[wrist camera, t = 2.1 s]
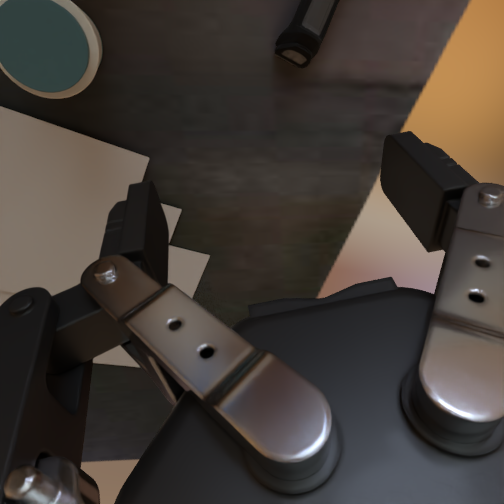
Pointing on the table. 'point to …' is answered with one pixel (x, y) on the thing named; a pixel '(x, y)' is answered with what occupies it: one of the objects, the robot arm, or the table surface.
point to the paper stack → (67, 210)
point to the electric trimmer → (306, 31)
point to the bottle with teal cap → (48, 46)
